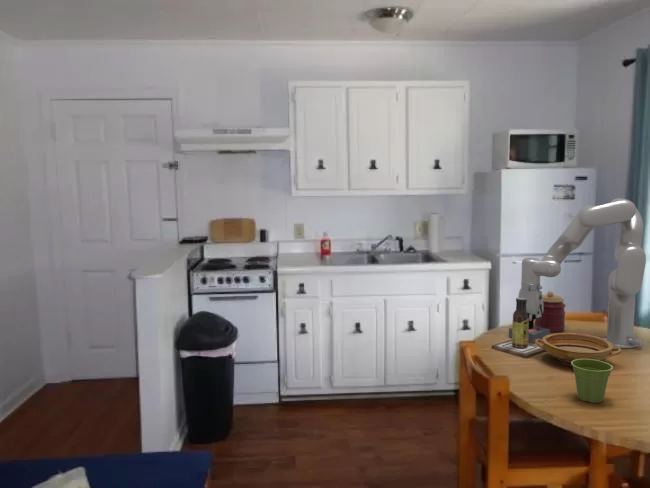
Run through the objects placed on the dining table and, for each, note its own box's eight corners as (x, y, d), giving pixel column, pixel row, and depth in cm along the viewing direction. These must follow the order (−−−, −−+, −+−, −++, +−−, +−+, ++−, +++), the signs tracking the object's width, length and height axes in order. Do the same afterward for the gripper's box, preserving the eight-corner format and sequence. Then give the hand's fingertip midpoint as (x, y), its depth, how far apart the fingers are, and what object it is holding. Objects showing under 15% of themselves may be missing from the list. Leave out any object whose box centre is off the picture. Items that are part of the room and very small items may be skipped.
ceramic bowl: (530, 367, 202) (531, 346, 201) (537, 348, 224) (537, 329, 223) (622, 379, 189) (623, 356, 188) (619, 357, 211) (620, 337, 210)
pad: (547, 351, 220) (547, 347, 220) (525, 358, 212) (526, 355, 212) (512, 341, 233) (513, 338, 233) (491, 348, 225) (491, 345, 224)
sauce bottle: (526, 350, 218) (527, 301, 215) (510, 347, 221) (511, 299, 218) (529, 345, 223) (531, 297, 221) (514, 343, 226) (515, 296, 224)
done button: (539, 335, 237) (539, 328, 236) (531, 338, 233) (531, 331, 233) (527, 332, 241) (527, 325, 241) (519, 335, 238) (519, 328, 238)
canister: (542, 324, 259) (543, 287, 256) (569, 329, 249) (571, 291, 247) (528, 329, 250) (529, 291, 248) (556, 335, 240) (558, 296, 238)
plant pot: (619, 400, 172) (620, 365, 170) (596, 409, 166) (598, 373, 164) (584, 388, 182) (585, 355, 180) (561, 396, 175) (563, 362, 174)
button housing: (549, 338, 236) (550, 329, 236) (533, 343, 229) (533, 334, 229) (525, 332, 246) (525, 323, 245) (508, 337, 239) (508, 328, 239)
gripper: (551, 288, 231) (550, 330, 233) (520, 283, 243) (519, 323, 245) (541, 290, 227) (539, 334, 229) (510, 285, 239) (509, 326, 241)
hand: (529, 328), depth 237 cm, fingers closed
